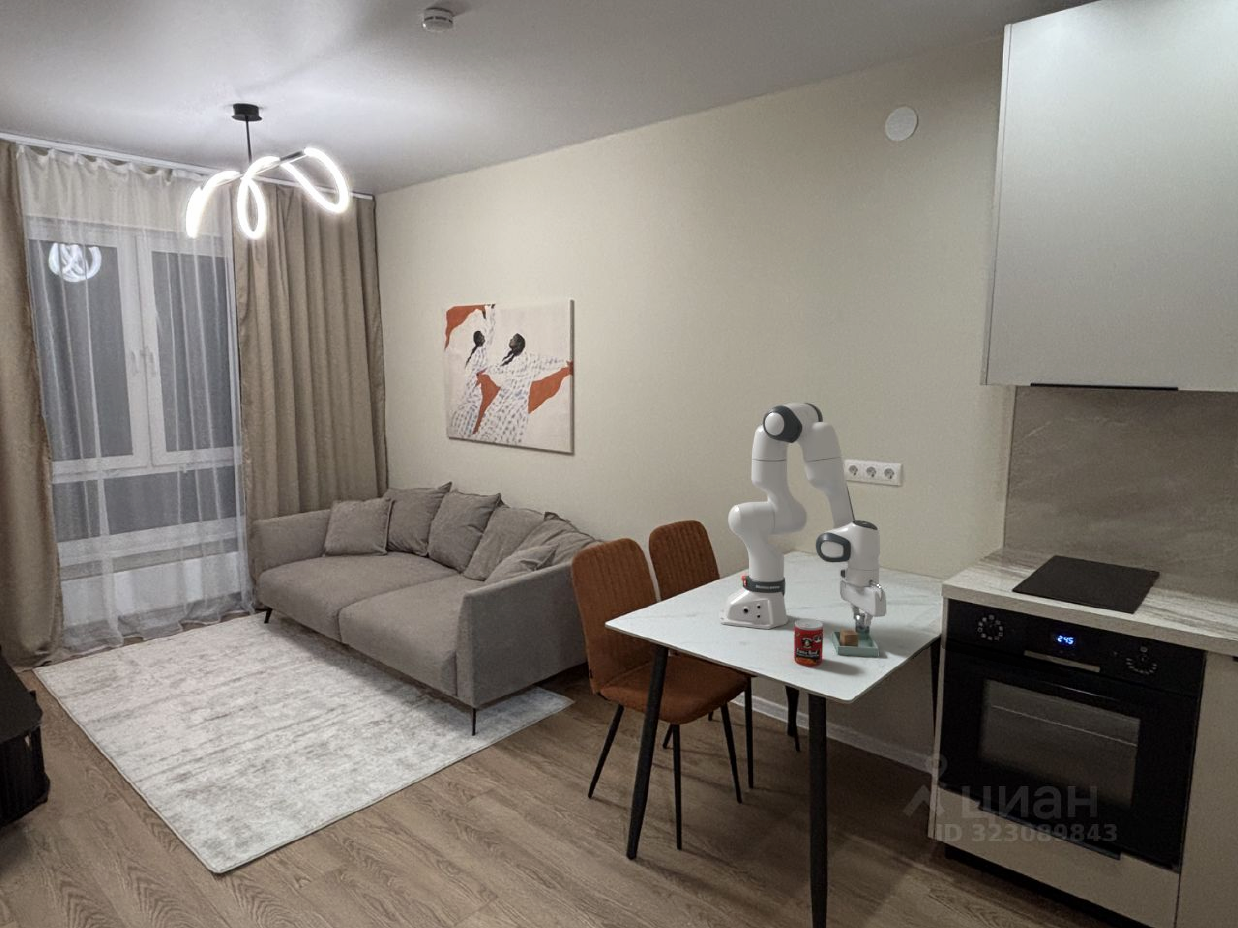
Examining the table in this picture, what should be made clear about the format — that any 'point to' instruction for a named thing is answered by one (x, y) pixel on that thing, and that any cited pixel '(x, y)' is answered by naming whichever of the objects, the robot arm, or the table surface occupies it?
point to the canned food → (808, 642)
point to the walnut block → (848, 638)
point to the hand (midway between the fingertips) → (861, 622)
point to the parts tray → (864, 647)
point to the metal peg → (861, 624)
